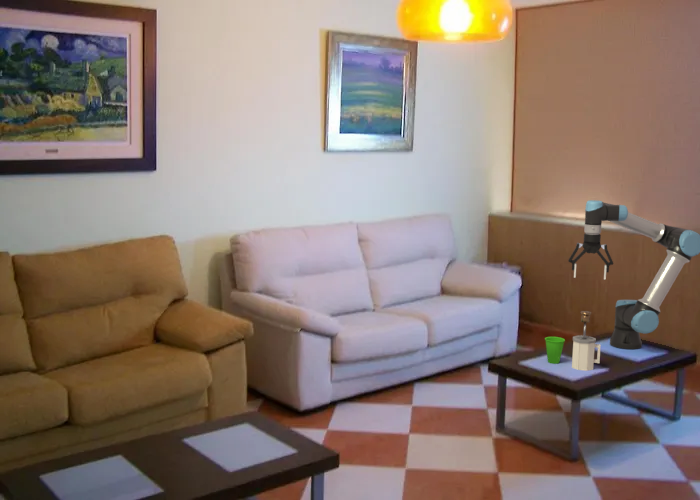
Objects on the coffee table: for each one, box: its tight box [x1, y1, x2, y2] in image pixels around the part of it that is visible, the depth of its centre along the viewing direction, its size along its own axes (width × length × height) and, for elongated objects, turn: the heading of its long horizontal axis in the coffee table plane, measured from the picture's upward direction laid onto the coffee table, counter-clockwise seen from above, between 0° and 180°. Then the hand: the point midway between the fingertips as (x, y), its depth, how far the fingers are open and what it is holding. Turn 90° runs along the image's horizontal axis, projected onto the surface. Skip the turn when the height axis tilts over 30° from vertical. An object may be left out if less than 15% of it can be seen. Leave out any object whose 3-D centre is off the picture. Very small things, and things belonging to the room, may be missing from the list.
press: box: [571, 334, 601, 372], centre depth 367 cm, size 10×12×14 cm
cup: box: [544, 336, 566, 365], centre depth 374 cm, size 9×9×11 cm
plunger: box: [580, 310, 592, 339], centre depth 366 cm, size 6×6×22 cm
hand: (589, 278), depth 385 cm, fingers open, 13 cm apart
